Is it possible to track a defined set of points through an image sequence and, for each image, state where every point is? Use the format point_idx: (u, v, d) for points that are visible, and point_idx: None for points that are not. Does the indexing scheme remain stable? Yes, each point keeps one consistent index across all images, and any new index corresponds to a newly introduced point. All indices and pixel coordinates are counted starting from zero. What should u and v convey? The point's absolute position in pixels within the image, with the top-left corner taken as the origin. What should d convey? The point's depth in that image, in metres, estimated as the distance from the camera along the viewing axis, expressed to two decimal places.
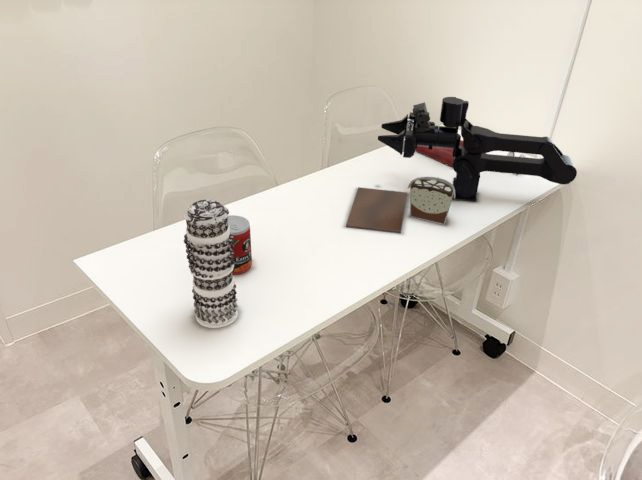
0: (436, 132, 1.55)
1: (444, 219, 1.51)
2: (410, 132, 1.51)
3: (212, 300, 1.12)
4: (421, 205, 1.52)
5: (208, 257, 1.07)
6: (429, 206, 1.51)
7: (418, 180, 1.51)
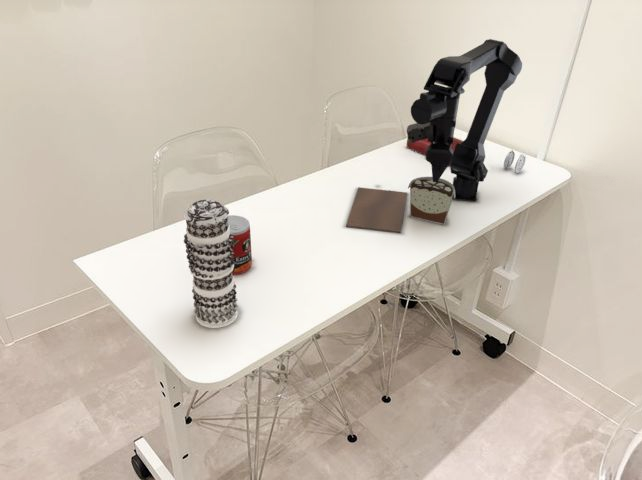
0: None
1: (444, 219, 1.51)
2: None
3: (212, 300, 1.12)
4: (421, 205, 1.52)
5: (208, 257, 1.07)
6: (429, 206, 1.51)
7: (418, 180, 1.51)
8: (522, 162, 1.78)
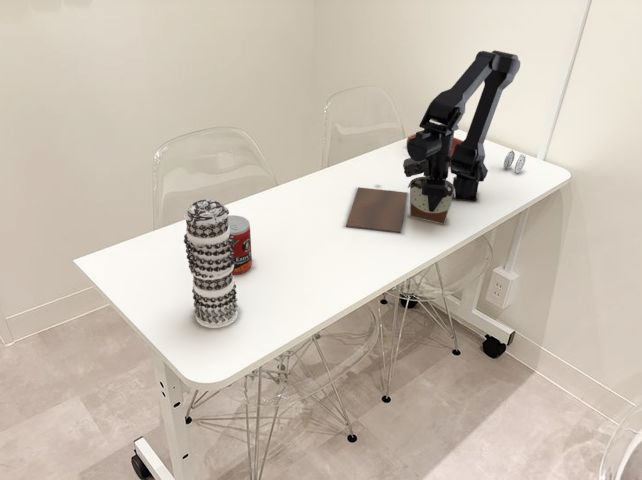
0: None
1: (444, 219, 1.51)
2: (422, 186, 1.44)
3: (212, 300, 1.12)
4: (421, 205, 1.52)
5: (208, 257, 1.07)
6: None
7: (418, 180, 1.51)
8: (522, 162, 1.78)
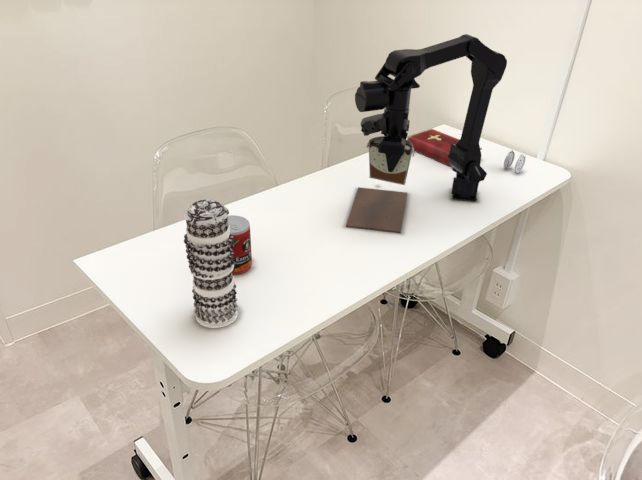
0: (388, 110, 1.40)
1: (404, 179, 1.47)
2: None
3: (212, 300, 1.12)
4: (380, 165, 1.48)
5: (208, 257, 1.07)
6: None
7: (377, 139, 1.48)
8: (522, 162, 1.78)
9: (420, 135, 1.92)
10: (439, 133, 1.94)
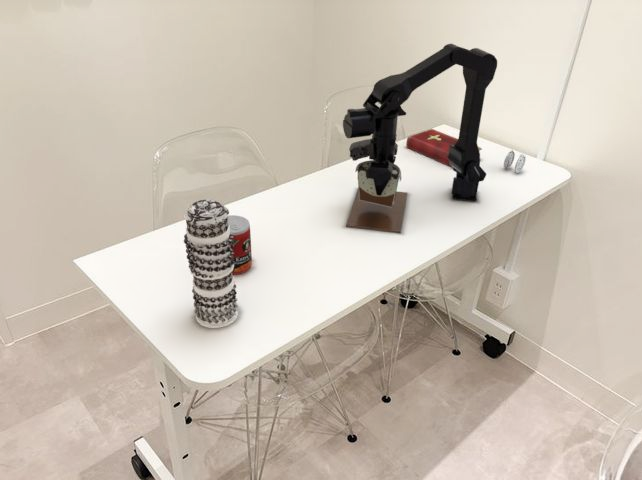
0: (375, 137, 1.44)
1: (392, 202, 1.51)
2: None
3: (212, 300, 1.12)
4: (369, 188, 1.52)
5: (208, 257, 1.07)
6: None
7: (366, 163, 1.52)
8: (522, 162, 1.78)
9: (420, 135, 1.92)
10: (439, 133, 1.94)
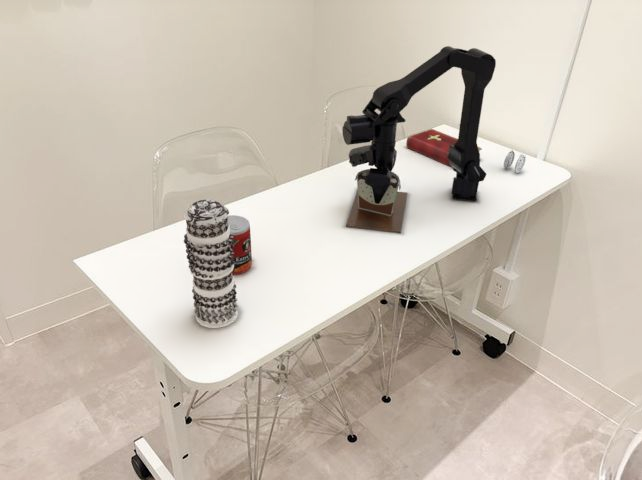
0: (375, 143, 1.45)
1: (391, 210, 1.53)
2: None
3: (212, 300, 1.12)
4: (368, 197, 1.53)
5: (208, 257, 1.07)
6: None
7: (365, 172, 1.53)
8: (522, 162, 1.78)
9: (420, 135, 1.92)
10: (439, 133, 1.94)
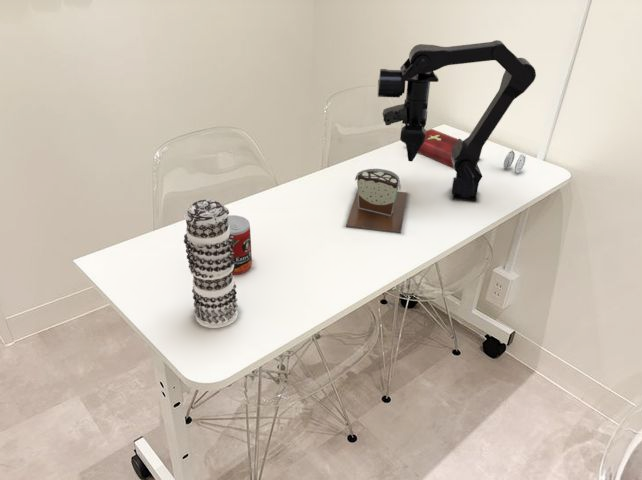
0: (409, 101, 1.49)
1: (391, 210, 1.53)
2: None
3: (212, 300, 1.12)
4: (368, 197, 1.53)
5: (208, 257, 1.07)
6: (376, 197, 1.52)
7: (365, 172, 1.53)
8: (522, 162, 1.78)
9: None
10: (439, 133, 1.94)
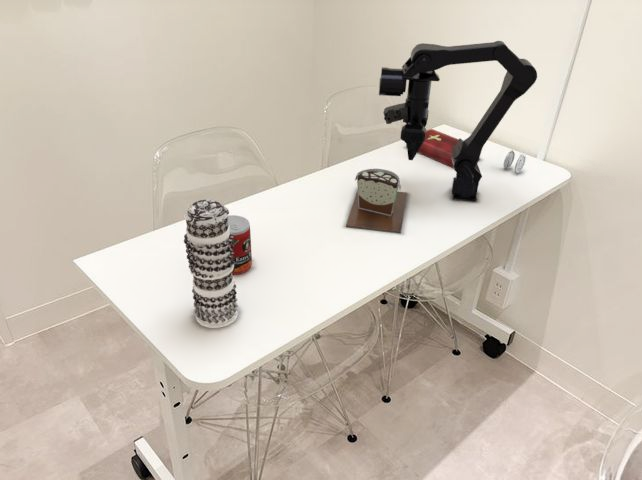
0: (410, 100, 1.49)
1: (391, 210, 1.53)
2: None
3: (212, 300, 1.12)
4: (368, 197, 1.53)
5: (208, 257, 1.07)
6: (376, 197, 1.52)
7: (365, 172, 1.53)
8: (522, 162, 1.78)
9: None
10: (439, 133, 1.94)
